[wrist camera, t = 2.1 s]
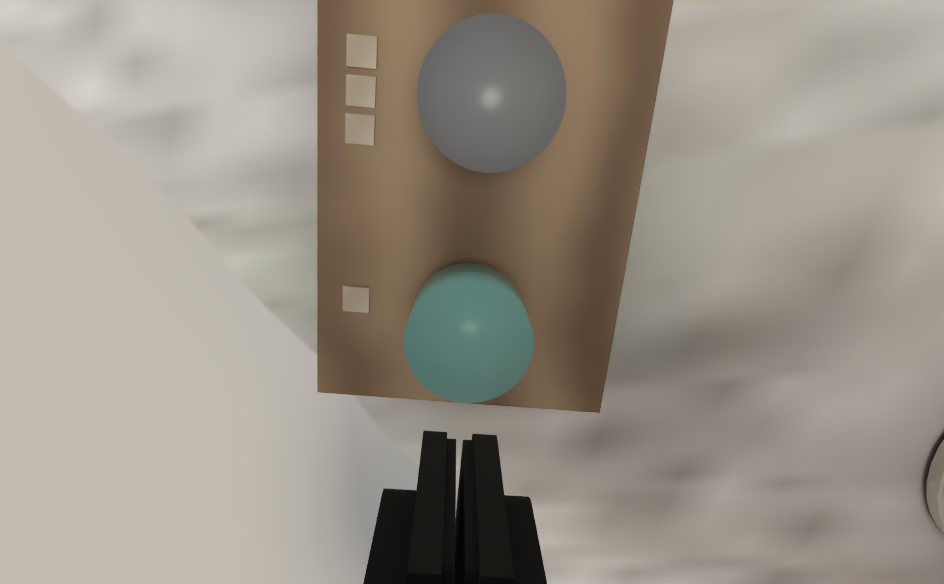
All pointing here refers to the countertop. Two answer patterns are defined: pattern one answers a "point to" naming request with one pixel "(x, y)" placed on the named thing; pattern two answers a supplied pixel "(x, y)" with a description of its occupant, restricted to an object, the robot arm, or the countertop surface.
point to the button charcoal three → (491, 93)
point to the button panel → (478, 192)
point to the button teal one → (468, 334)
